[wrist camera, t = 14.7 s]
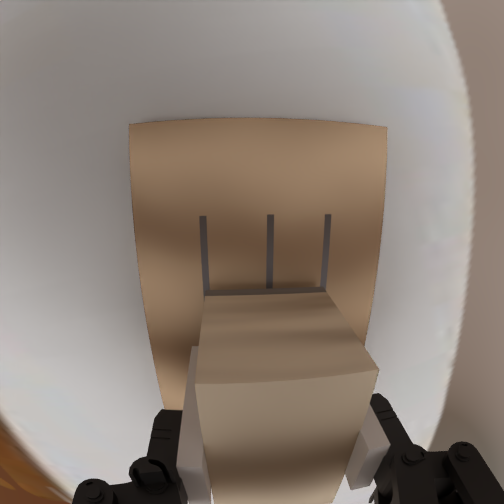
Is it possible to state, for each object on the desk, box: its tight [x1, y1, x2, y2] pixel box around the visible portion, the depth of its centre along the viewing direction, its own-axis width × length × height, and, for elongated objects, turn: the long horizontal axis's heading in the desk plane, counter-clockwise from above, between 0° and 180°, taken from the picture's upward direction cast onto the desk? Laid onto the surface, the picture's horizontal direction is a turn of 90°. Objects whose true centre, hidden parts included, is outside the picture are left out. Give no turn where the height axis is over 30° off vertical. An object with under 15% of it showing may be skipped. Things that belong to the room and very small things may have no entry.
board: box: [129, 118, 387, 410], centre depth 16 cm, size 22×11×2 cm, turn 0°
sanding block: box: [194, 286, 379, 504], centre depth 12 cm, size 8×5×6 cm, turn 0°
